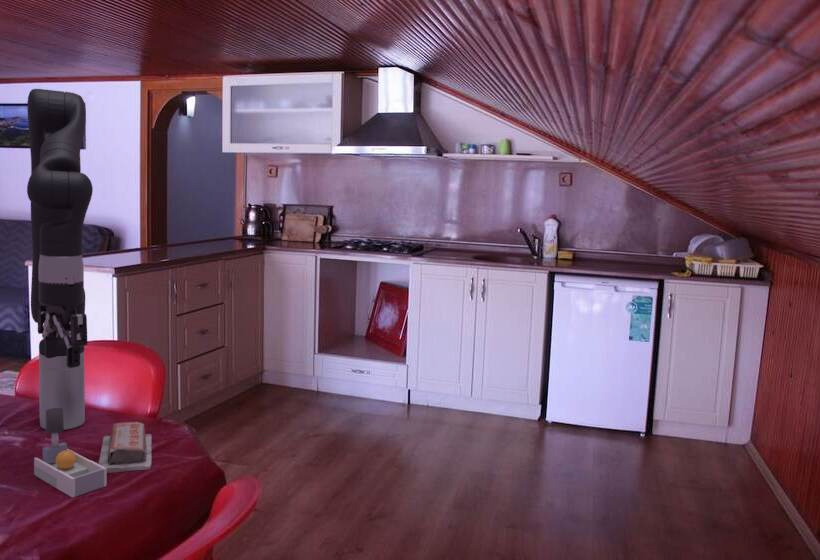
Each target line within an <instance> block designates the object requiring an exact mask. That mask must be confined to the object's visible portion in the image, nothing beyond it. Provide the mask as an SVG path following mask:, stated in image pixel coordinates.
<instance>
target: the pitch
mask: <svg viewBox="0 0 820 560" xmlns="http://www.w3.org/2000/svg"><path fill="white" fill-rule="evenodd" d="M67 450H70V451H72V452H74V454H75V455H76V461H75V464H74V465H73V466H72V467H70V468H68V469H61V468H59V467H58V466H57V465H56V462H55V463H51V464H48V463H46V462H44V461H43V459H41V458H38V457H33V472H34V473H33V474H34V476H35V477H37V478H38V479H41V480H42V481H43V482H44V483H47V484H48V485H50V486H51V487H54V488H55V489H57V470H61V471H63V472H64V473H66V474H68V475H70V476H72V477H73V478H74V477H77V476H80V475H83V474H86V473H88V461H89V460H90V459H88V458H86V457H84V456H83V455H81V454H79V453H77V452H75V451H73V450H71V449H69V448H67Z"/></svg>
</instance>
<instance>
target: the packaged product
mask: <svg viewBox="0 0 820 560" xmlns="http://www.w3.org/2000/svg"><path fill="white" fill-rule="evenodd" d="M152 442H153V441H152V434H151V433H147V434H146V427H145V423H143V422H139V421H127V422H126V421H125V422H117V423H113V425H112V429H111V433H110V435H109V434H108V435H107V434H106V435H105V436H102V444H101V448H100V449H101V450H100V453H99V459H98V464H99V465H101V466H103V467H105V468H107V474H113V473H114V474H115V473H124V472H132V471H133V472H134V471H146V470H147V471H148V470H151V469H152V458H153V457H152Z"/></svg>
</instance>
